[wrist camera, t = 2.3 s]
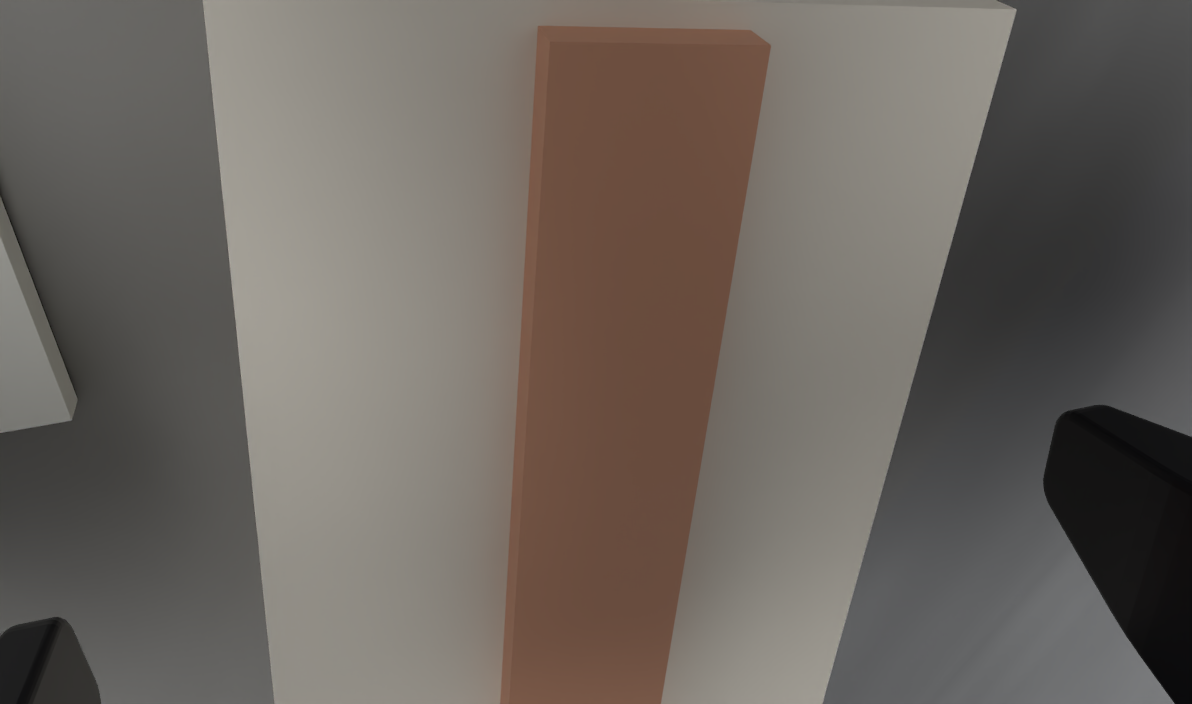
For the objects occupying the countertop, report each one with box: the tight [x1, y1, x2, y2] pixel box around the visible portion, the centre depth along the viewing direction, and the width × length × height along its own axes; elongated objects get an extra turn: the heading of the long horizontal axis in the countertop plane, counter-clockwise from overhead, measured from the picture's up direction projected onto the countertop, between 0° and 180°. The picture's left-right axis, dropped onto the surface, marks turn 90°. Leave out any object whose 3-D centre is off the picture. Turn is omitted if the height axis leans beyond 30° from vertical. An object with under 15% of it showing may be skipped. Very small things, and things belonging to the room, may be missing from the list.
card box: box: [203, 0, 1017, 704], centre depth 11 cm, size 9×6×4 cm, turn 175°
